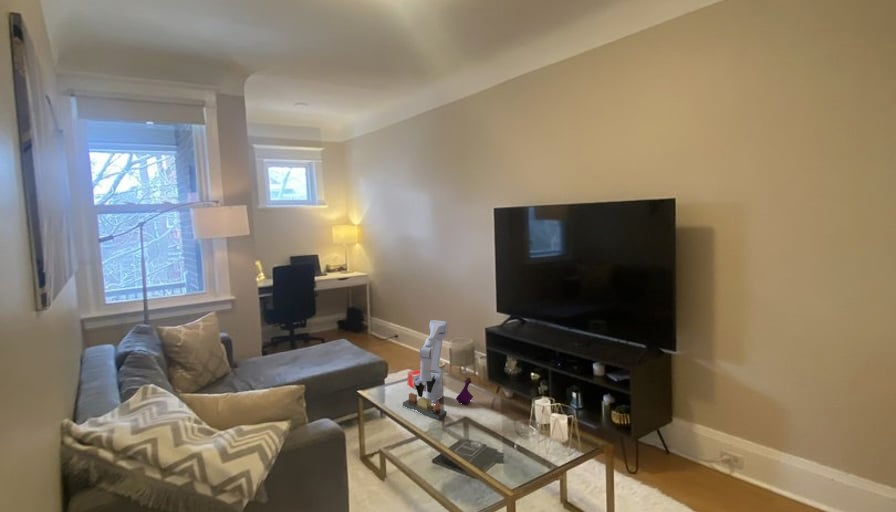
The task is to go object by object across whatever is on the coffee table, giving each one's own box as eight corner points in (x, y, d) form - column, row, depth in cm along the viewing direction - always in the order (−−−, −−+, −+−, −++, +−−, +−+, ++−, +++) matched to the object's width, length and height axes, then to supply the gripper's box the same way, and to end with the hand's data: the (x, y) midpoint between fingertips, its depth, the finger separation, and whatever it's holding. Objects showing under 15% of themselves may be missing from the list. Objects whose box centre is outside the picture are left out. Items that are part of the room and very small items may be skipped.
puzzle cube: (418, 381, 288) (419, 369, 286) (425, 386, 281) (425, 374, 280) (407, 384, 283) (407, 371, 282) (413, 389, 277) (413, 376, 276)
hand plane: (410, 402, 260) (411, 390, 259) (446, 415, 246) (447, 403, 245) (402, 406, 254) (403, 394, 253) (438, 420, 240) (439, 407, 239)
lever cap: (422, 403, 253) (422, 396, 252) (431, 407, 249) (431, 400, 249) (417, 406, 250) (417, 399, 249) (426, 409, 246) (426, 402, 246)
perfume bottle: (473, 401, 263) (474, 371, 261) (467, 407, 257) (469, 375, 254) (460, 398, 266) (462, 368, 264) (455, 404, 260) (456, 373, 257)
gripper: (423, 375, 239) (421, 400, 240) (440, 367, 250) (439, 392, 252) (412, 371, 243) (411, 397, 244) (429, 364, 254) (428, 388, 256)
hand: (424, 394), depth 248 cm, fingers open, 7 cm apart
